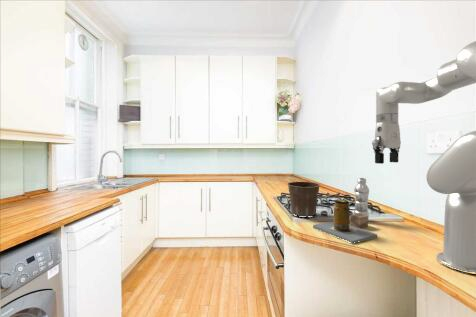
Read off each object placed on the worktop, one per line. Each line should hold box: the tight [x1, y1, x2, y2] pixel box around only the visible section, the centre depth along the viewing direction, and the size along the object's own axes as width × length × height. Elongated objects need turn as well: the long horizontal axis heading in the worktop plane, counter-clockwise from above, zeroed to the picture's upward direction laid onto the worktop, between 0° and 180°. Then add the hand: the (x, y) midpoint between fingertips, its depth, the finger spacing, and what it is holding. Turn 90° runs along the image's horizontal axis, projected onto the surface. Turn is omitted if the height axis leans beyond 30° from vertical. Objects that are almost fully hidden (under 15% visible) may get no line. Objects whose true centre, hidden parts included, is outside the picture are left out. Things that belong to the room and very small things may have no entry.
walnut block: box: [349, 213, 369, 229], centre depth 110 cm, size 5×5×5 cm
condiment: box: [329, 198, 357, 234], centre depth 102 cm, size 7×8×12 cm
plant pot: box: [286, 181, 321, 217], centre depth 127 cm, size 16×16×16 cm
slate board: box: [312, 220, 378, 243], centre depth 103 cm, size 20×14×1 cm
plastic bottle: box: [353, 177, 370, 219], centre depth 117 cm, size 6×7×20 cm
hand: (386, 162), depth 99 cm, fingers open, 9 cm apart
